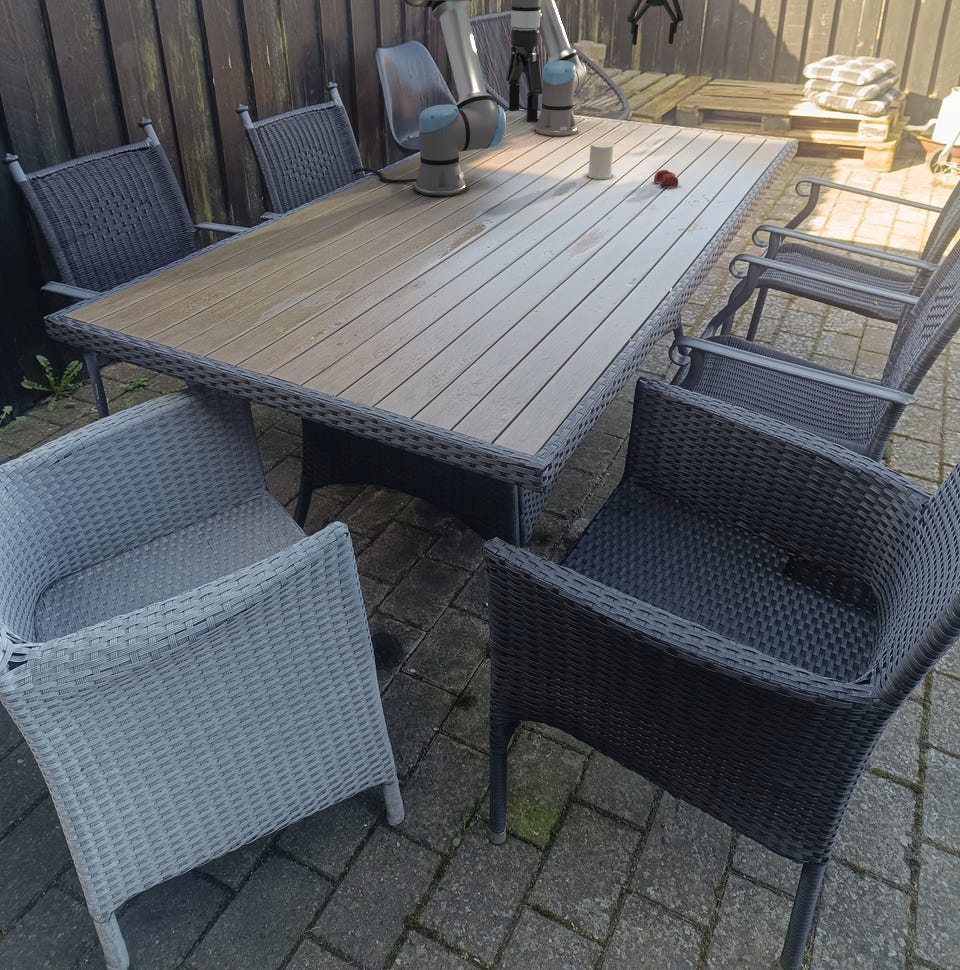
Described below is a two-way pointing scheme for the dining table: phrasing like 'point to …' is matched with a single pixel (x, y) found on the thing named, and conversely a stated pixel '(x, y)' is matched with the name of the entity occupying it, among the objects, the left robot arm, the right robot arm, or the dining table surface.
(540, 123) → the right robot arm
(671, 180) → the red rounded lump
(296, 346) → the dining table surface
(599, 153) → the cylinder
